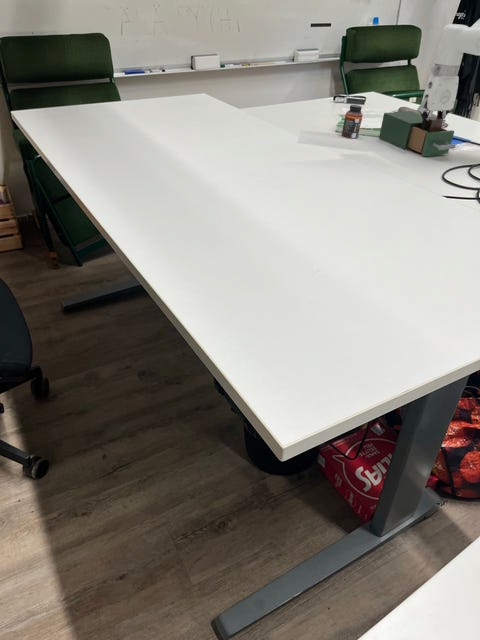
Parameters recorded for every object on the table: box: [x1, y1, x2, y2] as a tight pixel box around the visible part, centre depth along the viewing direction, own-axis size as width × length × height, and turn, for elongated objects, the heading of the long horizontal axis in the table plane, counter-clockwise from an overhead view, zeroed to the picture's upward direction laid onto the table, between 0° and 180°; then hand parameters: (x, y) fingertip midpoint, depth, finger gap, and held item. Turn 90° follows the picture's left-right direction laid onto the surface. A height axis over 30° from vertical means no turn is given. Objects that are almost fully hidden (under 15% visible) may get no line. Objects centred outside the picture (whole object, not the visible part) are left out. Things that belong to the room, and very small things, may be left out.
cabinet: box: [378, 110, 423, 151], centre depth 170 cm, size 15×12×9 cm
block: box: [428, 115, 444, 132], centre depth 159 cm, size 4×4×4 cm
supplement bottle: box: [341, 104, 363, 140], centre depth 171 cm, size 6×6×11 cm
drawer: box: [407, 125, 456, 157], centre depth 161 cm, size 18×10×7 cm, turn 23°
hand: (430, 130), depth 160 cm, fingers closed on block, 4 cm apart
